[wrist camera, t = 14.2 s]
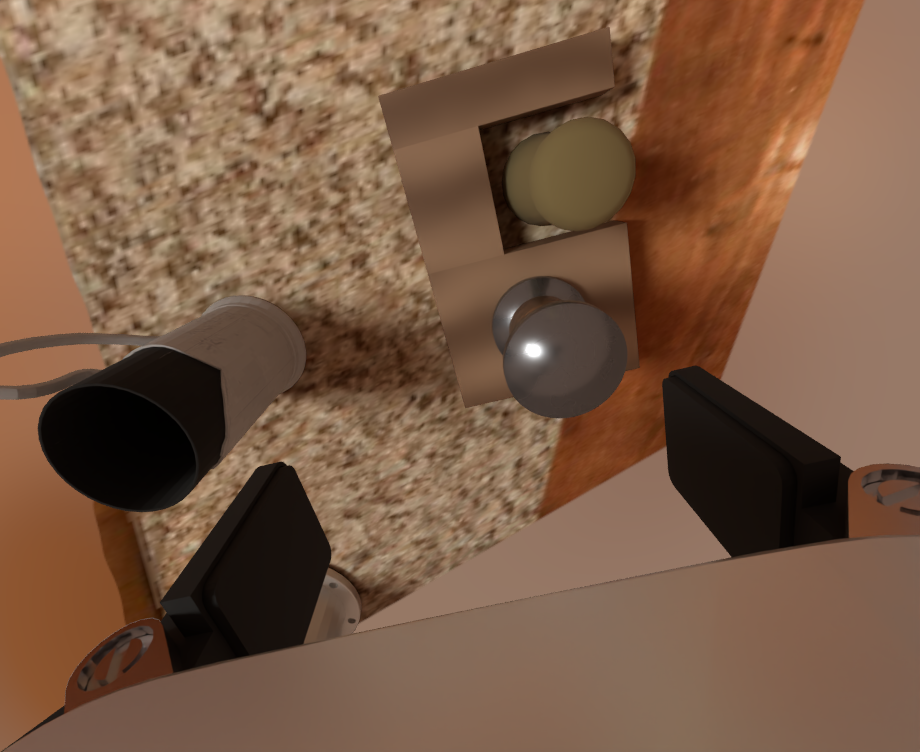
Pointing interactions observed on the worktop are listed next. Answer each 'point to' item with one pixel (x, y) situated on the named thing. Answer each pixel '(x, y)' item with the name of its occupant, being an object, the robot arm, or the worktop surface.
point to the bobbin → (557, 348)
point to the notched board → (472, 208)
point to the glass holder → (163, 402)
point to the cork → (570, 175)
